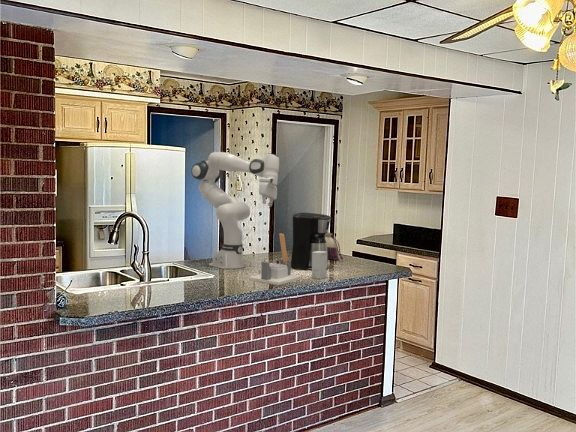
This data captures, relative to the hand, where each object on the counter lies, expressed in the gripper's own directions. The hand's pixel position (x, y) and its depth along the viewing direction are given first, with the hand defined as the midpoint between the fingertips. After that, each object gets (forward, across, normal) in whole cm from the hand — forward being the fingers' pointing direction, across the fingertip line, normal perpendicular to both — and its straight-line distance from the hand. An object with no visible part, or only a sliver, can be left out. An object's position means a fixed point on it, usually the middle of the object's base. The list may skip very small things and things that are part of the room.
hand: (267, 205), depth 314 cm
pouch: (+26, -70, +21) cm, 78 cm away
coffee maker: (+33, -37, +16) cm, 52 cm away
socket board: (+42, +7, +13) cm, 44 cm away
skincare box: (+38, -9, +33) cm, 51 cm away
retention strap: (+24, +4, +14) cm, 29 cm away
